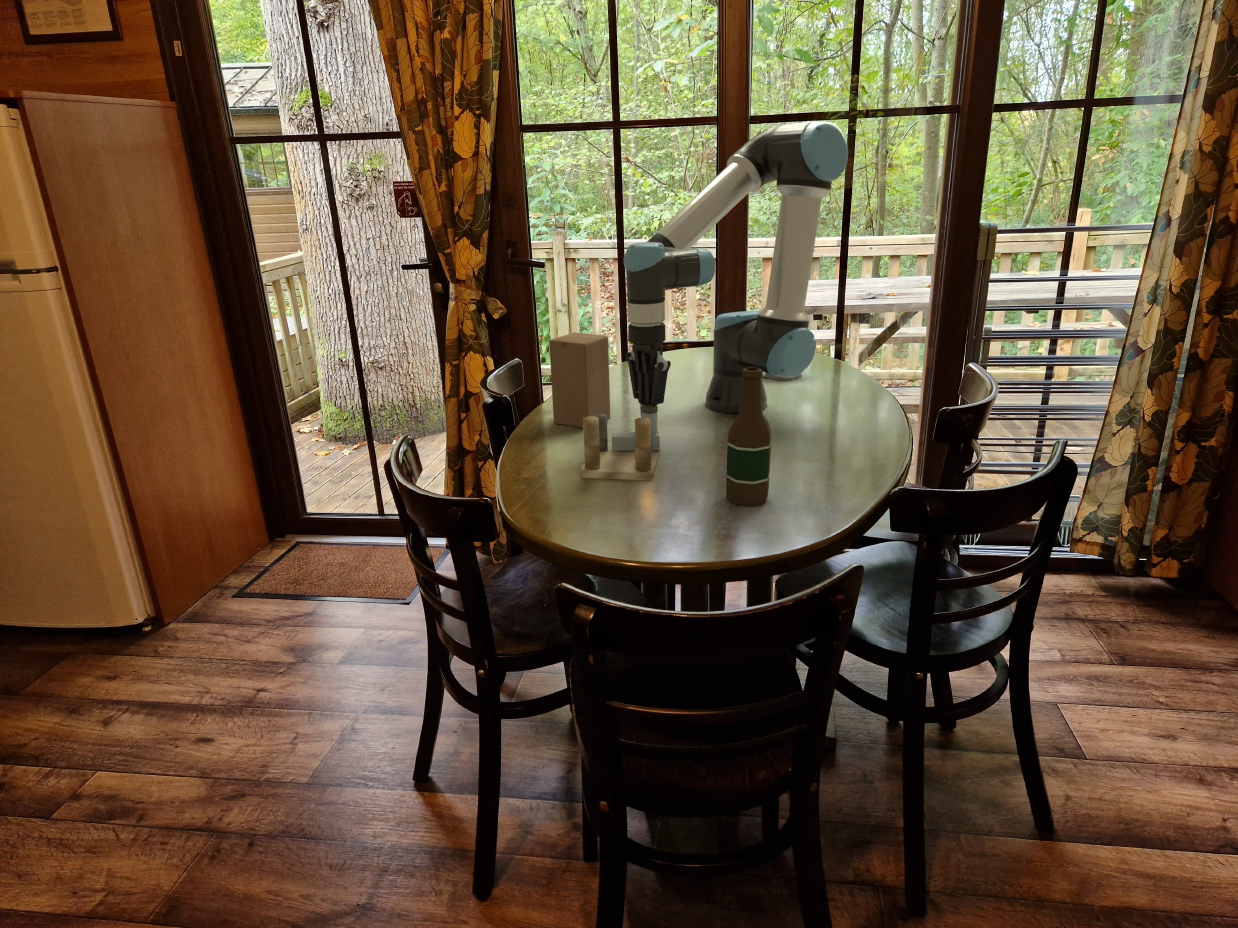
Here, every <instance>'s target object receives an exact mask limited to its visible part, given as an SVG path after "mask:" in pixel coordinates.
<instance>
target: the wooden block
mask: <svg viewBox="0 0 1238 928" xmlns="http://www.w3.org/2000/svg"><path fill="white" fill-rule="evenodd" d="M548 343H549V345H548V346H549V362H550V376H551V377H550V379H551V394H552V395H551V397H552V398H551V399H552V413H553V415H552V416H553V423H554V424H558V425H564V426H569V427H575V428H579V429H581V428H582V429H583V418H584V417H588V416H594V415H595V414H606V415H607V420H608V419H610V418H611V394H610V393H611V392H610V391H611V390H610V388H611V387H610V356H609V355H610V354H609V353H610V352H609V351H610V349H609V336H608V335H602V334H592V333H585V332H584V333H583V332H576V331H575V332H570V333H567V334H565V335H561V336H558V337H555V338H552V339H550V340H549V341H548Z"/></svg>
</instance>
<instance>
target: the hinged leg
mask: <svg viewBox="0 0 1238 928" xmlns="http://www.w3.org/2000/svg"><path fill="white" fill-rule="evenodd" d="M658 408H659V406H658V405H657V406H656V405H643V406H641V410H640V411H641V412H642V418H649V419H651V450H660V451H661V446H660V442H661V440H660V438H661V437H660V436H661V435H660V431H658V412H659V409H658ZM634 444H635V431H623V432H621V431H620V432H618V431H617V432H615V431H614V432H613V431H612V432H611V447H612V451H634Z"/></svg>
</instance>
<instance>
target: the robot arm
mask: <svg viewBox="0 0 1238 928" xmlns="http://www.w3.org/2000/svg"><path fill="white" fill-rule="evenodd" d="M848 151H849V149H848V143H847V140H846V137H845V136H844V135H843V131H842V130H841V129H840V128H839V127H838V126H837V125H836V124H834V123H832V122H829V121H818V120H817V121H816V120H815V121H814V120H811V121H806V122H803V121H802V122H795V123H794V122H793V123H781V124H780V123H779V124H776V125H772V126H770V127H768V128H765V129H764V130H762V131H760V132H759V133H757V134H756V135H755V136H753V137H752V138H750V139H749V140H748V141H746V142H745V143H744V144H743V145H742V146H741V147H739V148H738V149H737V150H736V151H735V152H734V153H733V154H732V155H730V157H729V158H728V160H727V161H726V167H725V168H724V169H723V170H722V171H721V172H719V173H718V174H717V175H716V176H715V177H714V178H713V179H712V180H711V181H710V182H709V183H708V184H707V185H706V186H705V187H703V189H701V191H699V192H698V193H697V194H696V195H695V196H694V197H693V198H692V199H691V200H689V201H688V203H686V205H684V206H683V207H682V208H681V209H680V210H679V211H678V212H677V213H676V214H675V215H674V216H672V218H670V219H669V220H668V221H667V222H666V223H665V224H664V225H663V226H662V227H661V228H660V229H659V230H658V231H657V232H656V233H654V234H653V235H652V236H651V237H650V238H649V239H648V240H647V241H646V242H635V243H631V244H629V245H628V247H627V248H626V251H625V253H624V255H623V266H624V271H626V272H625V273H626V296H627V302H626V303H627V304H626V306H627V308H626V309H627V322H628V323H629V324H628V325H627V329H628V330H627V333H628V336H627V337H628V339H627V340H628V342H629V343H630V344H632V347H631V349H632V350H631V351H627V352H625V355H624V357H625V359H626V362H627V366H628V372H629V377H630V384H631V389H632V396H633V398H634V399H637V401H638V404H639V406H640V407H639V409H640V411H639V412H640V418H642V412H641V406H643V405H656V406H658V405H660V404H664V402H665V394H666V388H667V380H668V373H669V371H670V368H671V365H672V363H671V361H670V360H666V359H665V358H664V357H663V355H664V353H663V347H662V345H663V343H664V342H665V341H666V324H665V323H664V321H665V320H666V310H665V309H666V307H665V305H666V303H665V301H666V291H670V290H675V289H683V288H684V289H685V288H691V287H695V288H697V287H700V286H703V285H707V284H709V283H710V282H711V281H712V280H713V279H714V277H715V275H716V260H715V257H714V255H713V253H712V252H711V251H710V250H709V249H708V248H706V247H694V245H695V244H697V242H698V241H700V240H701V239H702V238H703V236H705V235H706V234H707V233H708V232H709V231H710V230H711V229H712V228H713V227H714V226H715V225H717V224H718V222H720V221H721V220H722V219H723V218H724V217H726V215H727V214H728V213H729V212H730V211H731V210H732V209H733V208H734V207H735V206H736V205H738V203H740V201H742V200H743V199H744V198H745V197H747V195H748V194H750V193H752V194H753V193H756V192H758V191H759V190H760V189H761V188H762V187H764V186H765V185H767V184H769V183H771V182H776V185H775V188H776V189H777V191H778V192H779V193H780V195H781V200H780V206H779V213H778V221H777V225H776V226H777V227H776V233H775V241H774V248H773V253H772V259H771V260H772V262H771V269H770V274H769V275H770V276H769V282H768V287H767V288H768V289H767V295H766V300H765V301H766V303H765V307H763V309H761V310H748V311H747V310H746V311H734V312H727V313H721V314H718V315H717V317H716V318H715V319H714V326H713V327H714V329H713V331H712V332H713V373H712V377H711V379H710V383H709V386H708V389H707V392H706V395H705V405H706V407H707V408H708V409H710V410H712V411H716V412H721V413H727V414H728V413H729V414H739V409H740V402H741V392H742V382H743V377H742V376H741V374H742V371H743V369H744V368H748V367H757V368H760V369H762V371H763V373H764V374H766V373H768V374H771V375H773V376H775V377H784V378H792V377H795V376H798V375H799V374H801V375H802V374H803V372H805V370H807V369H808V368H809V366H810V365H811V363H812V361H813V360H814V358H815V355H816V351H817V340H816V338H815V334H814V333H813V332H812V331H811V330H810V329H809V324H810V317H809V316H808V315H807V314H806V312H805V308H806V307H805V306H806V300H807V294H808V287H809V281H810V275H811V269H812V262H813V257H814V250H815V245H816V238H817V232H818V226H819V219H820V212H821V207H822V200H823V199H824V198H825V197H826V196H827V195H829V193H831V189H832V185H833V181H835V180H837V179H839V178H840V177H841V175H842V173H844V172H845V169H846V167H847V165H848V158H849V152H848ZM762 377H763V376H762ZM762 377H761V392H762V410H765V408H767V407H768V395H767V392H766V389H765V385H764V381H763V378H762Z"/></svg>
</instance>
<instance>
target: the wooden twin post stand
mask: <svg viewBox="0 0 1238 928" xmlns="http://www.w3.org/2000/svg"><path fill="white" fill-rule="evenodd" d="M582 430H583V449H584V450H583V451H584V463H583V465H582V467H581V468H580V478H581V479H599V480H600V479H602V480H606V479H607V480H627V481H628V480H629V481H630V480H631V481H634V480H635V481H653V479H654V477H655V473H656V470H657V468H658V463H659V460H660V458H661V457H660V456H661V449H660V450H651V419H649V418H641V417H637V418H635V419H634V432H635V444H634V451H612V446H609V445H608V443H609V441H608V419H607V415H606V414H595V415H594V416H588V417H584V418H583V428H582Z"/></svg>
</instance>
